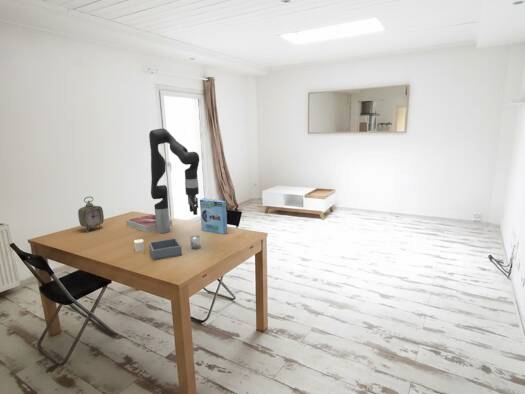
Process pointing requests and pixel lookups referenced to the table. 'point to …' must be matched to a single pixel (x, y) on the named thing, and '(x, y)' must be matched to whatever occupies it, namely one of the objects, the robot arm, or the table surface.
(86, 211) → the tabletop clock
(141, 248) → the cream box
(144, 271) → the table surface
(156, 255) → the tote
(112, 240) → the table surface
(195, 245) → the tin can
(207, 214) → the gum box
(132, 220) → the product packaging
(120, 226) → the table surface
